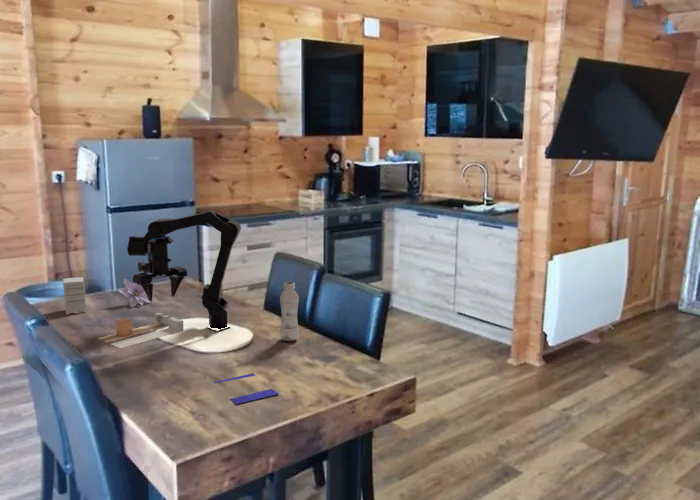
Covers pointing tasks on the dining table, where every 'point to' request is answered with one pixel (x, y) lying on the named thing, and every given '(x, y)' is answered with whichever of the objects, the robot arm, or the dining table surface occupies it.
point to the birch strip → (142, 328)
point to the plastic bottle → (289, 313)
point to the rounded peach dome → (124, 327)
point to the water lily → (134, 293)
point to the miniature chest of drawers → (74, 294)
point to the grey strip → (153, 333)
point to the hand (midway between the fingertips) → (161, 298)
